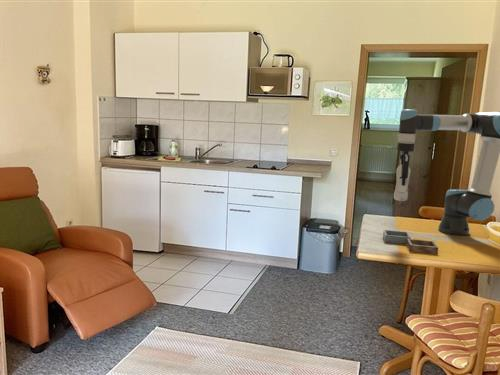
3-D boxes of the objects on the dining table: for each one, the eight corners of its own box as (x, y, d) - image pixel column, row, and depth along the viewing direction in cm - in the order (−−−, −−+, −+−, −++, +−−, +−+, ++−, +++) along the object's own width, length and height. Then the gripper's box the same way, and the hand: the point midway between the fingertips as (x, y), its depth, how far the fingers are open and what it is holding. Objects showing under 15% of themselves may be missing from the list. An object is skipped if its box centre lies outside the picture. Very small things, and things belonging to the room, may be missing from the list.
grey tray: (407, 238, 223) (407, 231, 222) (410, 244, 213) (410, 237, 212) (382, 236, 225) (383, 229, 225) (384, 242, 215) (385, 235, 214)
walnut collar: (432, 247, 210) (433, 240, 210) (437, 254, 199) (438, 247, 199) (406, 244, 212) (406, 238, 212) (409, 251, 202) (410, 244, 201)
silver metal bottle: (394, 199, 220) (398, 158, 217) (409, 200, 217) (413, 159, 213) (391, 200, 214) (395, 159, 211) (406, 202, 211) (410, 160, 208)
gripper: (395, 141, 221) (391, 187, 225) (400, 143, 203) (395, 193, 206) (411, 142, 219) (406, 188, 223) (417, 144, 201) (412, 194, 205)
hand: (401, 190), depth 215 cm, fingers closed on silver metal bottle, 6 cm apart
